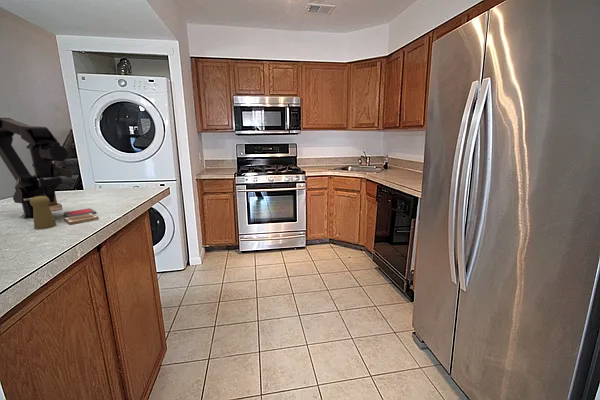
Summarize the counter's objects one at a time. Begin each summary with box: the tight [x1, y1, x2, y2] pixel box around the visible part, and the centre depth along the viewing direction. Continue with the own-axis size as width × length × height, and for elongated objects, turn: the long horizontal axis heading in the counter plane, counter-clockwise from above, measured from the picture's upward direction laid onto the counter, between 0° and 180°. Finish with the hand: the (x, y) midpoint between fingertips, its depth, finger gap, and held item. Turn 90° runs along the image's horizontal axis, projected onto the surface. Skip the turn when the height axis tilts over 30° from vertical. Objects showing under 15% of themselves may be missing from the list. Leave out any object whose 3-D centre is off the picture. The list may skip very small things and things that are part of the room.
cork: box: [30, 196, 57, 230], centre depth 101 cm, size 6×6×11 cm
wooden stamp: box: [44, 194, 64, 212], centre depth 111 cm, size 5×5×9 cm
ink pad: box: [63, 207, 98, 218], centre depth 118 cm, size 9×9×1 cm
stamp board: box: [63, 213, 100, 226], centre depth 110 cm, size 9×9×1 cm
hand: (51, 201), depth 111 cm, fingers closed on wooden stamp, 3 cm apart
